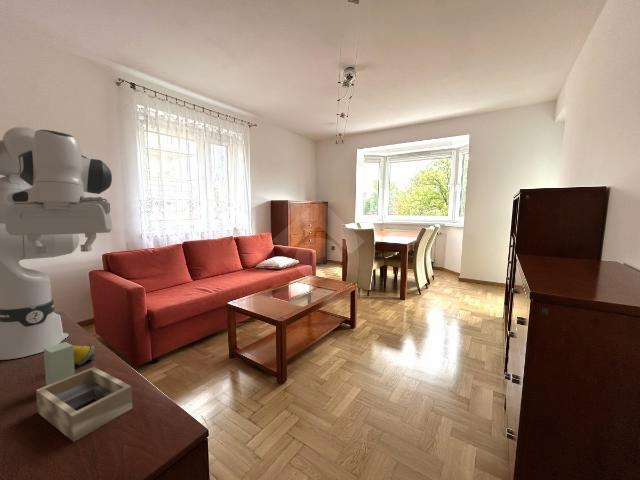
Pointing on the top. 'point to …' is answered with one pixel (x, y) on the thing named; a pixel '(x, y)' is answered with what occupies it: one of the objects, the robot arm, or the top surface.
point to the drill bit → (83, 354)
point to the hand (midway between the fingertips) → (63, 252)
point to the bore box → (83, 402)
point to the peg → (58, 362)
